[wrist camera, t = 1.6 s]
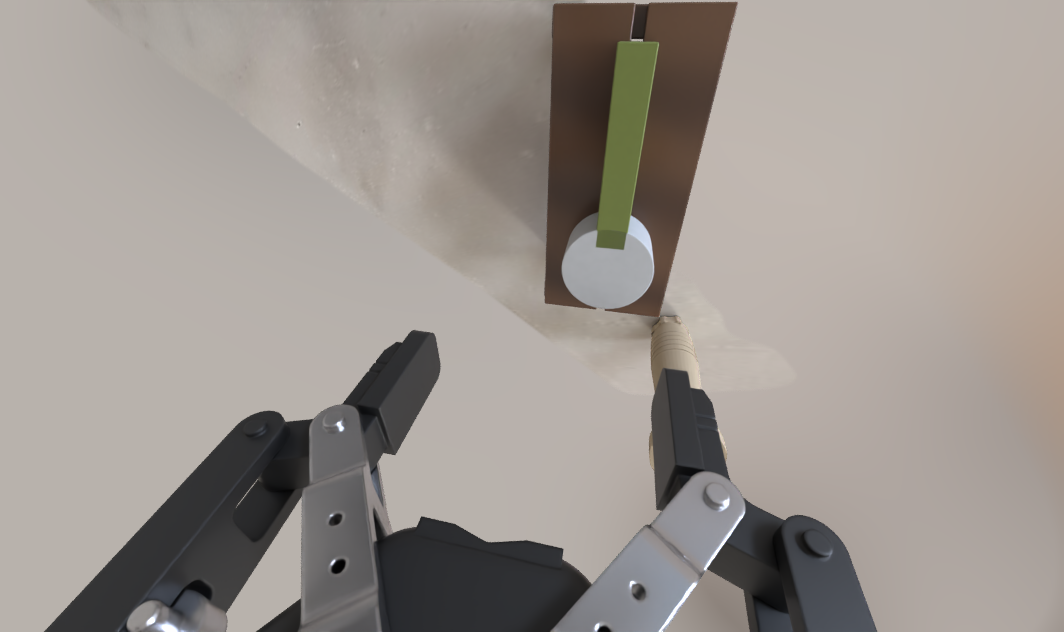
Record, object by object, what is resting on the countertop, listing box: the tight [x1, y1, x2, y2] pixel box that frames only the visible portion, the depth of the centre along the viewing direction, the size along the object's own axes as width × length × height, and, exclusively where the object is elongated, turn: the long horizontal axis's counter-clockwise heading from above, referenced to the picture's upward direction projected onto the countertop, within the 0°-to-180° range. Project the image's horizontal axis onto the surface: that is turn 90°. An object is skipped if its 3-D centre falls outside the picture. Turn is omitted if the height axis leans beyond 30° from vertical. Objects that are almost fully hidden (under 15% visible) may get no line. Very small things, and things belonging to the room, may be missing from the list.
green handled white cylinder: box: [562, 41, 659, 309], centre depth 22 cm, size 14×6×3 cm, turn 0°
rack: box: [544, 2, 738, 317], centre depth 27 cm, size 18×9×8 cm, turn 0°
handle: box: [649, 316, 727, 470], centre depth 32 cm, size 5×6×15 cm
